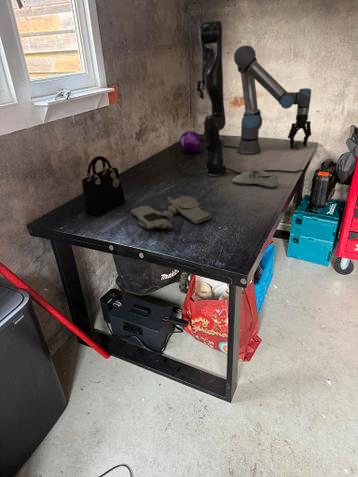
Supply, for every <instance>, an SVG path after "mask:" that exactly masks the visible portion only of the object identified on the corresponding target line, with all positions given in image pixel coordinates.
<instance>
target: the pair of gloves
mask: <svg viewBox="0 0 358 477" xmlns="http://www.w3.org/2000/svg"><path fill="white" fill-rule="evenodd" d="M166 204H167V205H168V207H167V210H164V211H163V212H161V211H159V210H156V209H155V208H152V207H151V206H149V205H141V206H138V207H135V208H132V209H131V210H130V214H131V215H133V216H134V217H136V218H137V219H138V225H139V226H140V227H142V228H144V229H147V230H154V229H156V228H161V229H168V230H173V229H174V226H173V224H172V223H171V221H170V219H172V218H173V216H174V215H176V214H177V213H180V214H181V216H183V217H184V218H186V219H188V220H189V221H190V222H192V223H193V224H195V225H197V224H200V223H204V222H205V221H207V220H210V219H211V217H212V214H211V213H210V212H207V211H204V210H202V208H201V207H200V202H198V200H196V199H195V198H193V197H192V196H190V195H184V196H180V197H178V198H175V199H174V198H171V197H170V196H168V197H167V199H166Z"/></svg>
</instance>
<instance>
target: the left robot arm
mask: <svg viewBox="0 0 358 477" xmlns="http://www.w3.org/2000/svg"><path fill="white" fill-rule="evenodd" d="M198 30H199V32H198V40H199V44H200V47H201V80H197V81H196V91H197V92H199V95H200V96H199V97H200V99H201V100H204V91H206V94H207V96H208V98H209V101H210V105H211V114H210V115H207V116H208V117H207V116H206V117H207V118H206V117H205V118H206V119H205V118H204V121H205V122H204V121H203V128H204V129H203V134H204V133H205V140H206V144H205V146H206V147H205V148H206V149H205V150H206V151H205V152H206V153H205V155H206V159H205V160H206V161H205V162H206V168H205V171H206V172H205V173H206V175H207V176H208V177H219V176H223V175H224V173H226V172H227V170H228V171H231V172H233V173H234V174H237V175H240V174H241V173H242V172H241V171H240V172H239V171H236V170H235V169H232V168H228V167H226V165H225V164H224V158H223V157H224V156H223V155H224V153H223V152H224V150H223V149H224V146H223V145H224V140H223V138H221V136H220V131H222V130H223V129H224V128H225V127H226V112H225V103H224V69H223V23H222V21H220V20H212V21H205V22H204V21H203V22H202V23H201V24H200V25H199V29H198ZM213 44H215V49H214V48H211V47H207V46H206V45H213ZM258 171H259V170H255V171H253V173H254V174H257V172H258ZM261 171H265V172H267V173H268V172H277V173H278V172H280V173H291V174H292V173H293V174H295V173H300V172H302V173H307V171H306V170H304V169H298V170H284V169H283V170H282V169H264V170H263V169H262V170H261ZM258 173H259V172H258Z"/></svg>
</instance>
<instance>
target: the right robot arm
mask: <svg viewBox="0 0 358 477" xmlns="http://www.w3.org/2000/svg"><path fill="white" fill-rule="evenodd" d="M256 56H257V54H256V51H255V49H254V48H253V47H252V46H250V45H242V46H239V47H238V48H237V49H236V50H235V51H234V53H233V61H234V63H235V65H236V66H237V72H238V73H239V74H240V79H241V87H242V96H243V105H244V112H243V113H242V114H243V117H242V118H241V122H240V123H241V126H240V128H241V129H240V143H239V145H238V146H232V145H224V144H223V148H224V147H225V148H230V149H231V148H233V149H237V153H238V154H241V155H248V156H249V155H251V156H252V155H258V154H259V153H261V146H260V142H259V133H260V129H261V127H262V125H263V118H262V113H261V109H260V108H259V107H258V96H257V88H256V87H257V86H256V82H257V83H258V84H259V85H260V86H261V87H263V88H264V90H266V91H267V92H268V93H269V94H270V95H271V97H273V99H275V100H276V101H277V103H278V104H279V105H280V106H281V108H283V109H290V108H292V107H293V106H294V105H297V108H296V115H295V122H294V123H293V122H292V123H291V127H290V130H289V132H288V135H287V139H289V149H291V150H294V142H295V137H296V136H297V134H298V132H299V130H301V129H302V132H303V134H304V136H303V141H302V142H303V147H305V148H306V147H307V145H308V141H309V138H310V136H311V135H312V129H311V124H312V122H311V121H310V120H309V113H310V106H311V98H312V89H311V88H308V87H306V88H304V87H303V88H300V89H299V90H298V91H295V92H292V91H291V92H289V91H287V90H286V89H285V88H284V87H283V86H282V85H281V84H280V83H279V82H278V81H277V80H276V79H275V78H274V77H273V76H272V75H271V74H270V73H269V72H268V71H267V70H266V69H265V68H264V67H263V66H262V65H261V64H260V63H259V62H258V59H257V58H256ZM200 139H201V141H202V142H205V140H204V138H200Z"/></svg>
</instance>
